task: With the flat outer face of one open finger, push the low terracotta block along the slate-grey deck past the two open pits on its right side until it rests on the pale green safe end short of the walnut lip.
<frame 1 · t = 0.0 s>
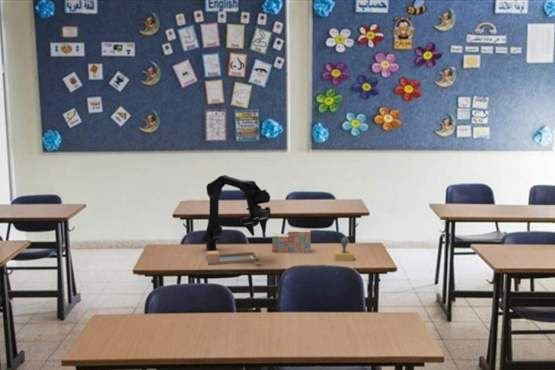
hand: (259, 233, 330), 15 cm above the table, tool pointing down, fingers open, 9 cm apart
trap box: (231, 262, 333), on the table
rubber stamp: (344, 259, 338), on the table
terracotta block: (213, 259, 332), point 1 cm above the table, touching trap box
stack of blocks: (291, 251, 353), on the table
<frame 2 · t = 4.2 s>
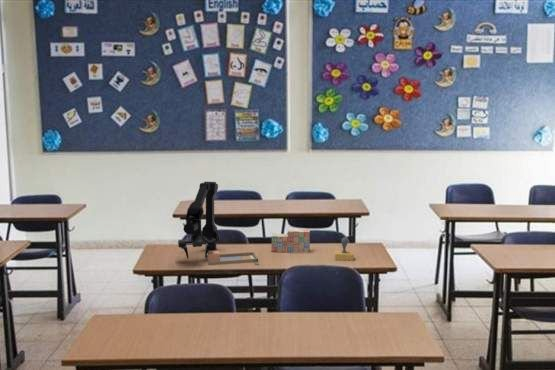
hand: (196, 258, 330), 3 cm above the table, tool pointing down, fingers open, 9 cm apart
terracotta block: (213, 259, 332), point 2 cm above the table, touching gripper
everything else where it was.
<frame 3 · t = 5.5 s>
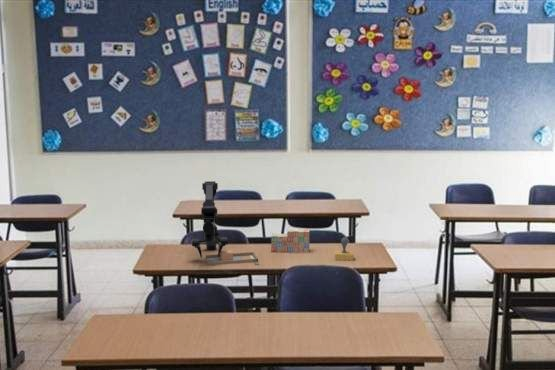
hand: (209, 257, 332), 3 cm above the table, tool pointing down, fingers open, 9 cm apart
terracotta block: (226, 259, 334), point 2 cm above the table, touching gripper
everything else where it was.
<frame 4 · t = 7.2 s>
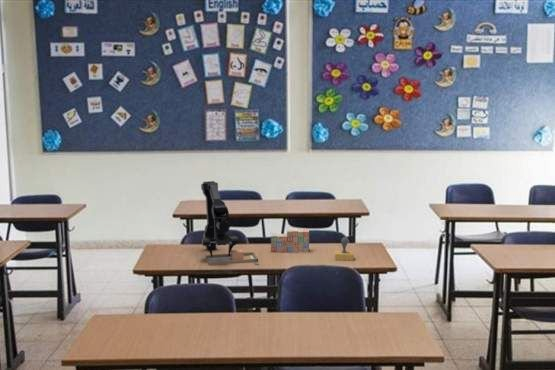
hand: (220, 256, 333), 3 cm above the table, tool pointing down, fingers open, 9 cm apart
terracotta block: (237, 258, 335), point 2 cm above the table, touching gripper
everything else where it was.
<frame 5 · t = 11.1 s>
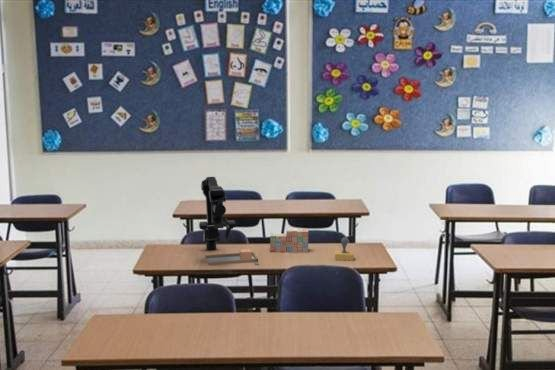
hand: (217, 240, 331), 12 cm above the table, tool pointing down, fingers open, 9 cm apart
terracotta block: (245, 257, 336), point 1 cm above the table, touching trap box
at the end: terracotta block 1.2 cm from the target spot on the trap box, point 1.5 cm above the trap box's base; terracotta block tilted 1°; terracotta block moved 17.3 cm from its start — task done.
